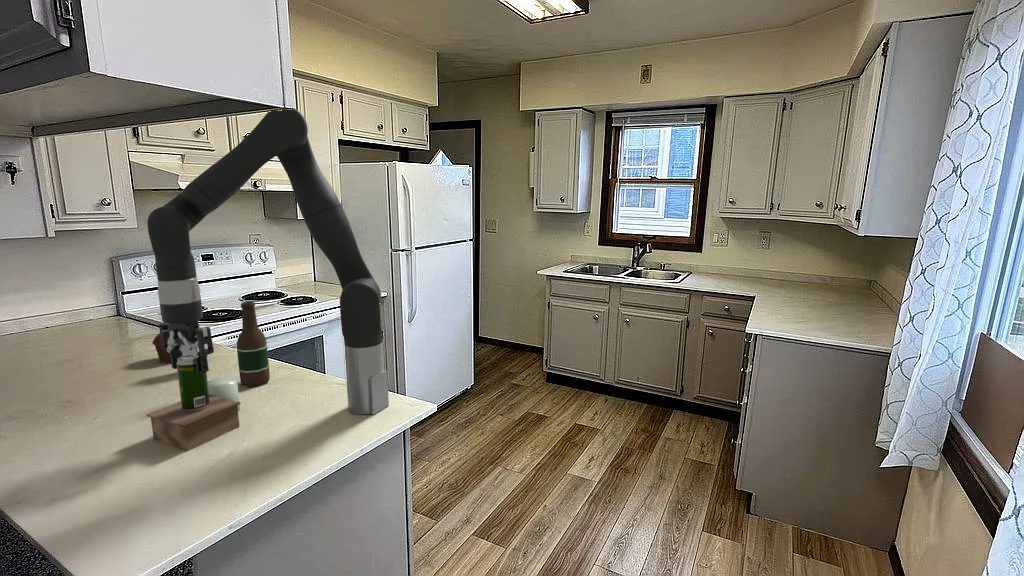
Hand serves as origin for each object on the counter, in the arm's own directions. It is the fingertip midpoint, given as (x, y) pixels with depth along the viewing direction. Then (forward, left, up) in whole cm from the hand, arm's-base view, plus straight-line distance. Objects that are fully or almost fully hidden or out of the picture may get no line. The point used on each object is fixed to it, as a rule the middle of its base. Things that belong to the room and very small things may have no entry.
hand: (190, 370), depth 109 cm
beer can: (0, 0, -9) cm, 9 cm away
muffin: (+58, -31, -15) cm, 68 cm away
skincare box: (+40, -26, -15) cm, 50 cm away
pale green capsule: (+5, -10, -15) cm, 19 cm away
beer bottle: (+15, -27, -15) cm, 35 cm away
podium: (0, 0, -15) cm, 15 cm away
